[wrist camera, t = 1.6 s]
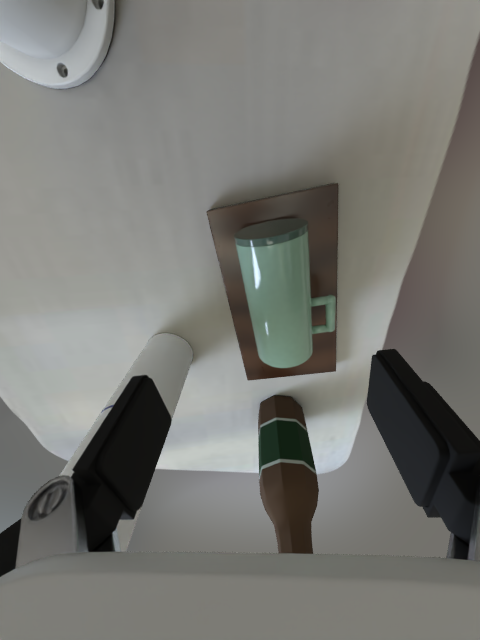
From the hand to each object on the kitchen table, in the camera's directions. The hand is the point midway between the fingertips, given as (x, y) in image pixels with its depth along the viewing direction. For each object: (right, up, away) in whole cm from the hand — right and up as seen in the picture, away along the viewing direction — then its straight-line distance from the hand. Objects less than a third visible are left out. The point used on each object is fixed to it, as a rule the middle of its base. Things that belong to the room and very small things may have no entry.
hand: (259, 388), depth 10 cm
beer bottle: (+6, -13, +31) cm, 34 cm away
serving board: (+4, +6, +20) cm, 21 cm away
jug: (+6, 0, +18) cm, 19 cm away
